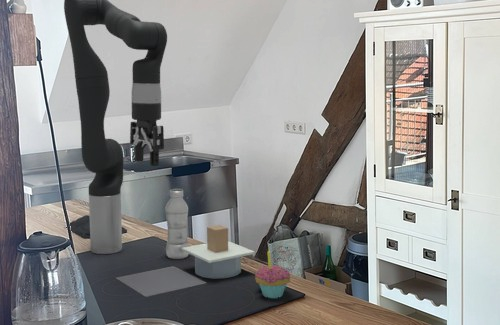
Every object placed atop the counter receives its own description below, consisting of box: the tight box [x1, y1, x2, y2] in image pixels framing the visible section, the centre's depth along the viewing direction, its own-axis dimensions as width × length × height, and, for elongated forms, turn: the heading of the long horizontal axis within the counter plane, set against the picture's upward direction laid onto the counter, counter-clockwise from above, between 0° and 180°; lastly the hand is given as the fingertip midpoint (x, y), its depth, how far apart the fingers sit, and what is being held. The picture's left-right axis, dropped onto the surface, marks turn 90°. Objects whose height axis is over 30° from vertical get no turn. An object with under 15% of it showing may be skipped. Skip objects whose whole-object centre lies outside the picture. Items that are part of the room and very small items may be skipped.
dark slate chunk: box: [65, 214, 128, 240], centre depth 219 cm, size 15×22×5 cm
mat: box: [115, 265, 207, 298], centre depth 165 cm, size 17×17×1 cm
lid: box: [181, 224, 256, 263], centre depth 172 cm, size 14×14×7 cm
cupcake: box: [254, 248, 291, 299], centre depth 157 cm, size 9×8×12 cm
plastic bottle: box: [164, 188, 190, 260], centre depth 185 cm, size 6×7×20 cm
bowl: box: [194, 256, 242, 280], centre depth 173 cm, size 12×12×6 cm
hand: (146, 163), depth 170 cm, fingers open, 8 cm apart
